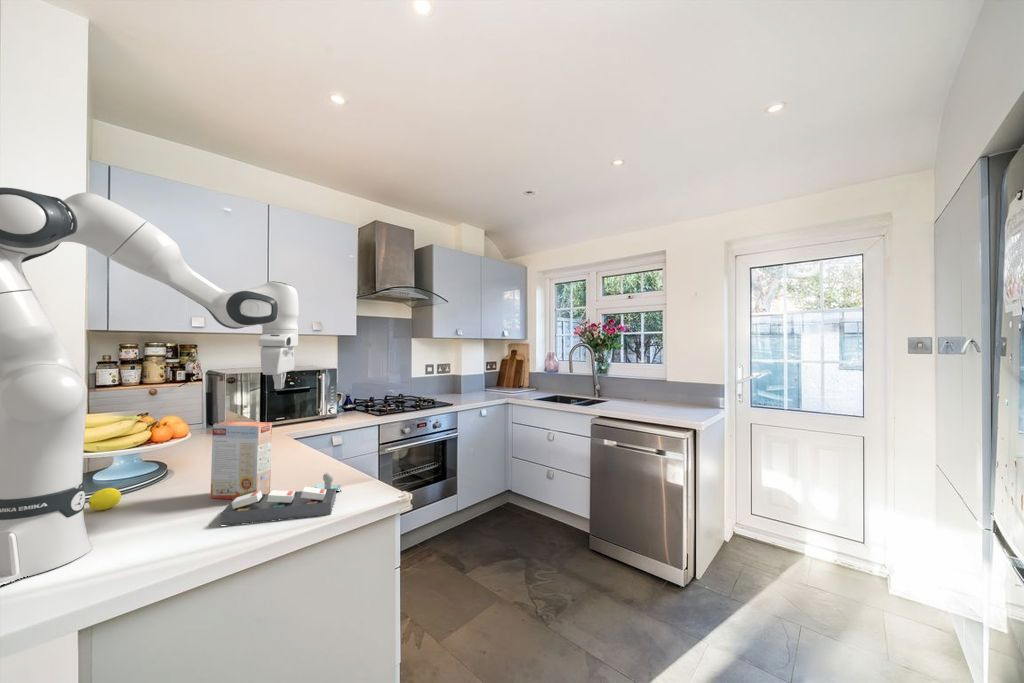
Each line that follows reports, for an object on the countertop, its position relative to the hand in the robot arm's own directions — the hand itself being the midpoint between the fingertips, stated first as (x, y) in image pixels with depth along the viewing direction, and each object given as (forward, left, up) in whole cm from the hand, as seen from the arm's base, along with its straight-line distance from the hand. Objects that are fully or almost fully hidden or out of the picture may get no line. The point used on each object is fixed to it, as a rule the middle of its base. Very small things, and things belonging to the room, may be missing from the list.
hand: (279, 388), depth 108 cm
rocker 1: (-4, -12, -26) cm, 29 cm away
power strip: (+4, -10, -31) cm, 33 cm away
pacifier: (+14, +2, -31) cm, 34 cm away
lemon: (-40, +4, -31) cm, 51 cm away
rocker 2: (+4, -12, -26) cm, 29 cm away
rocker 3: (+11, -12, -26) cm, 31 cm away
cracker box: (-10, +5, -31) cm, 33 cm away
